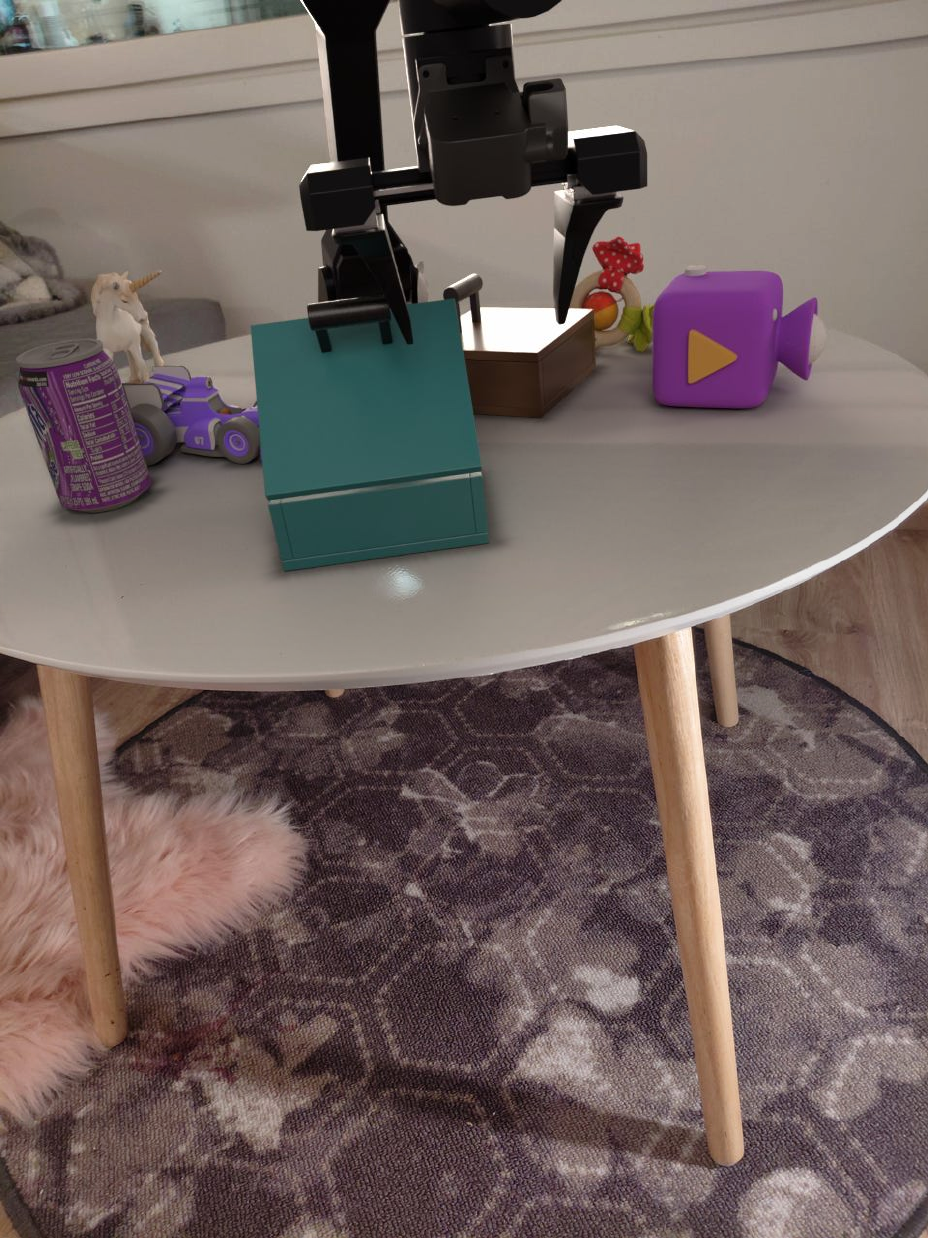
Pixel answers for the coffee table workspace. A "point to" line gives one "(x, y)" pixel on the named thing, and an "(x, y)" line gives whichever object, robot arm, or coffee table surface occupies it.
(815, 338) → the toy camera
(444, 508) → the teal box
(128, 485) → the beverage can
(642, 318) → the bird rattle
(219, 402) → the toy race car
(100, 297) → the unicorn figurine
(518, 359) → the lid
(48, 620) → the coffee table surface
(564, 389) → the box
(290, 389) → the lid
